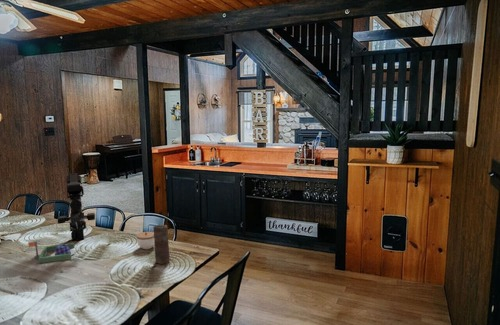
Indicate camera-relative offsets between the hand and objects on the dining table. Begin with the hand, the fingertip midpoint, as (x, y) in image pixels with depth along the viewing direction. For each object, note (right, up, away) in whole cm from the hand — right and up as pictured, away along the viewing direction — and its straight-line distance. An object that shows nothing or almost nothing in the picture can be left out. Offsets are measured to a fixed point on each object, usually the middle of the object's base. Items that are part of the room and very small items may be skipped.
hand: (78, 232), depth 196 cm
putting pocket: (-13, -12, -3) cm, 18 cm away
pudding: (-7, -12, -2) cm, 15 cm away
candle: (+51, -13, -12) cm, 54 cm away
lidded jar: (+37, -10, +8) cm, 39 cm away
